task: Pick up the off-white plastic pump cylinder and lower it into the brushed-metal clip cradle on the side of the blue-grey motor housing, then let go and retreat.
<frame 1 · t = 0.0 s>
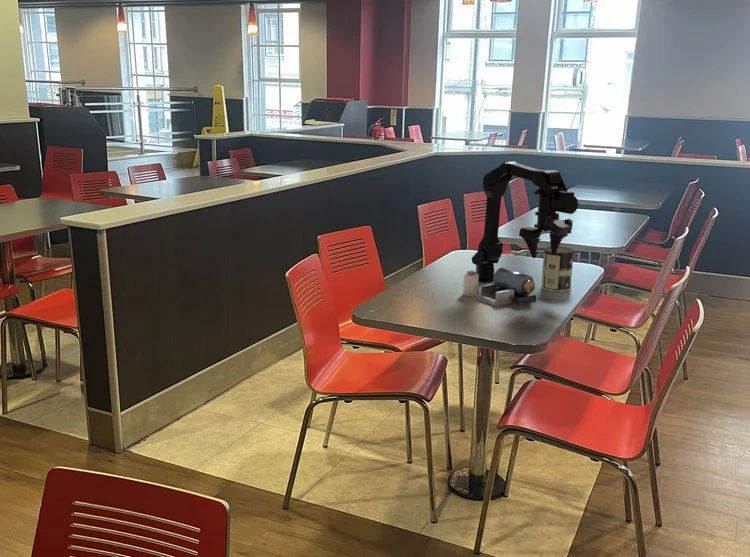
hand: (543, 256, 230), 15 cm above the table, fingers open, 9 cm apart
motor: (512, 297, 236), on the table
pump: (470, 294, 238), on the table
coffee can: (555, 288, 247), on the table
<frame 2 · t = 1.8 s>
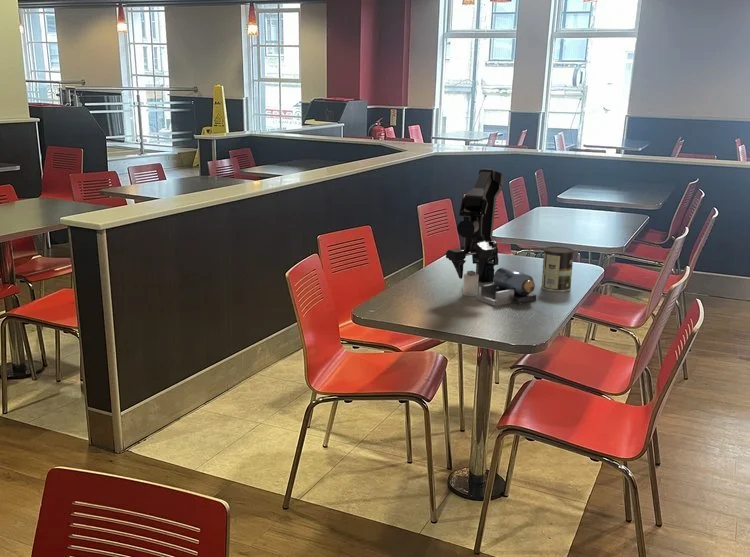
hand: (471, 276, 237), 6 cm above the table, fingers open, 9 cm apart
nothing on the table moved.
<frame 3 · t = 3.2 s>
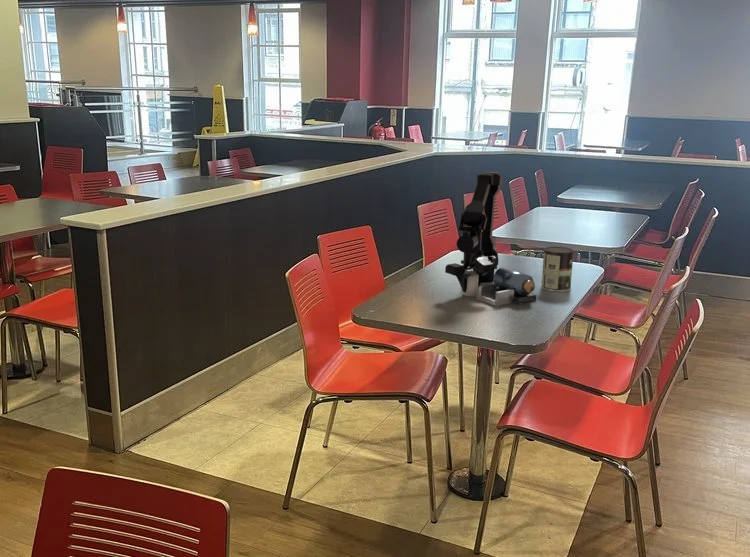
hand: (470, 291, 238), 1 cm above the table, fingers closed on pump, 5 cm apart
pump: (470, 294, 238), on the table, touching gripper
everything else where it was.
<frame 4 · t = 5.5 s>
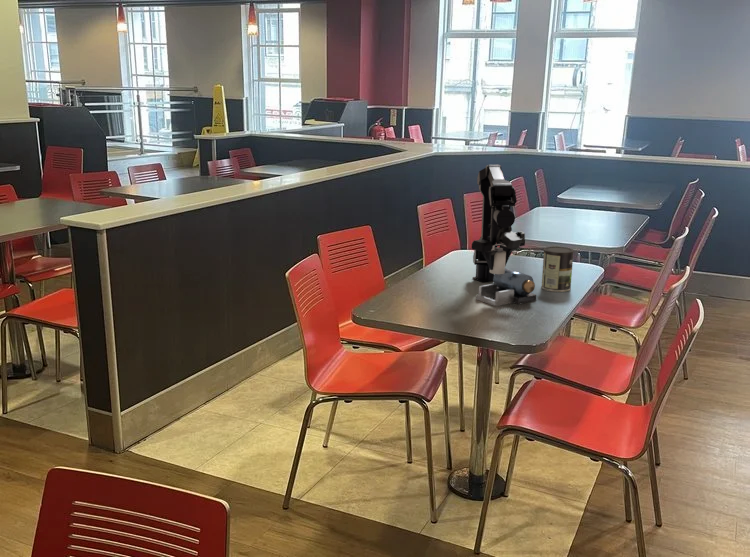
hand: (497, 268, 229), 11 cm above the table, fingers closed on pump, 5 cm apart
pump: (497, 272, 229), point 10 cm above the table, touching gripper
everything else where it was.
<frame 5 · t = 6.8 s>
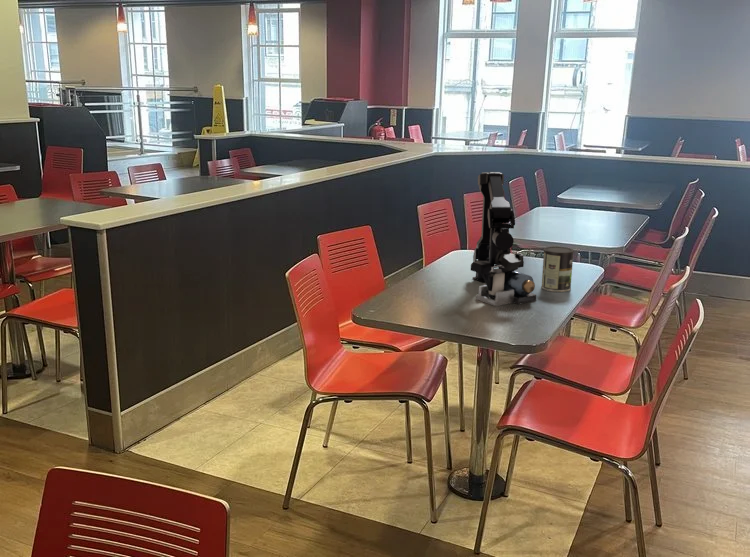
hand: (496, 289, 230), 4 cm above the table, fingers closed on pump, 5 cm apart
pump: (496, 293, 231), point 3 cm above the table, touching gripper
everything else where it was.
when the fingers open (4 cm above the table, at t = 7.6 s): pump drops 2 cm, resting in motor.
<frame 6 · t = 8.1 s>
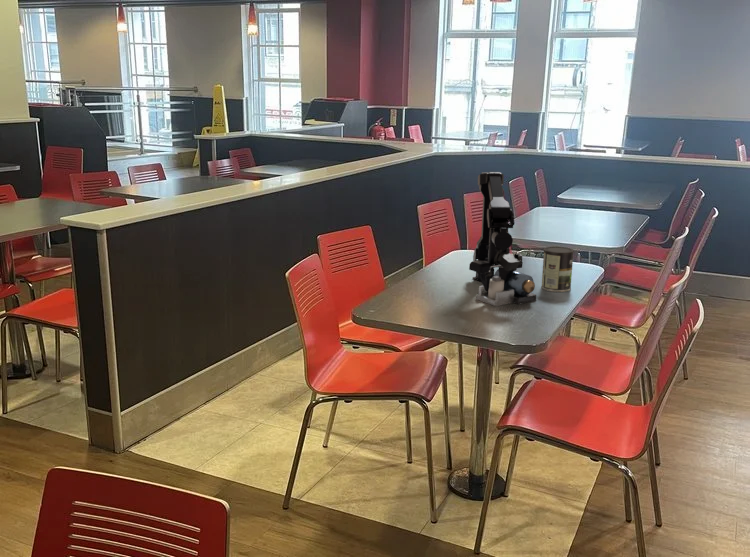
hand: (494, 289, 230), 4 cm above the table, fingers open, 6 cm apart
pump: (495, 300, 231), resting in motor, touching gripper
everything else where it was.
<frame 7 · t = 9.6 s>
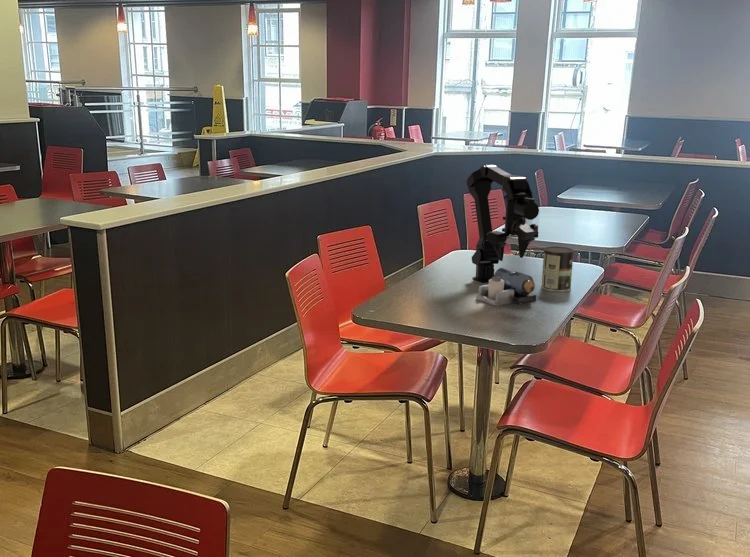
hand: (511, 259, 238), 12 cm above the table, fingers open, 9 cm apart
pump: (495, 300, 231), resting in motor
everything else where it was.
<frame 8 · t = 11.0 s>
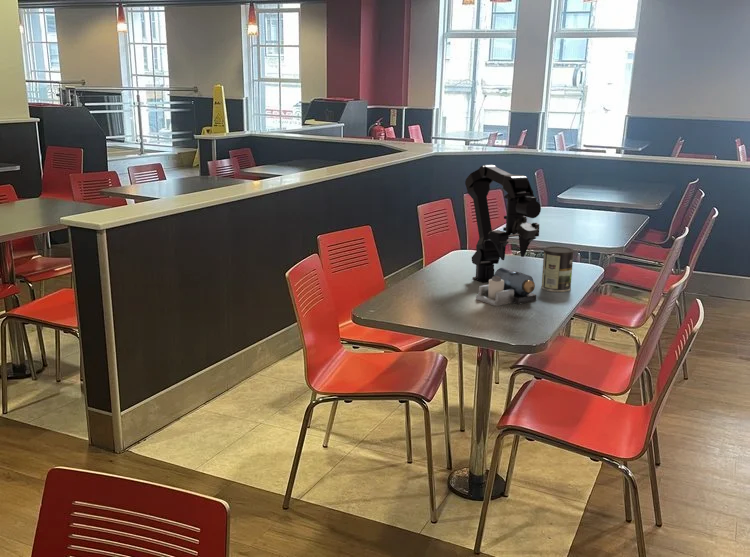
hand: (512, 258, 238), 12 cm above the table, fingers open, 9 cm apart
nothing on the table moved.
at the end: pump 0.2 cm from the target spot on the motor, point 0.0 cm above the motor's base; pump tilted 0°; the gripper is holding nothing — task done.
